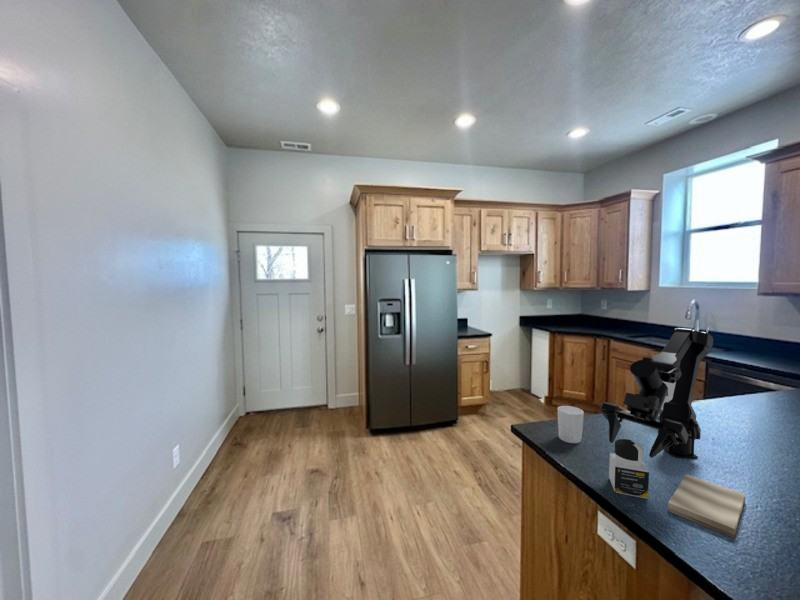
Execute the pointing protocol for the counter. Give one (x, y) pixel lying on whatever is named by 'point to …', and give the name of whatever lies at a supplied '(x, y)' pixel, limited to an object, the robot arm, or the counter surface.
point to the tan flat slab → (708, 504)
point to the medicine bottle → (628, 469)
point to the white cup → (570, 424)
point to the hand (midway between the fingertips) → (629, 449)
